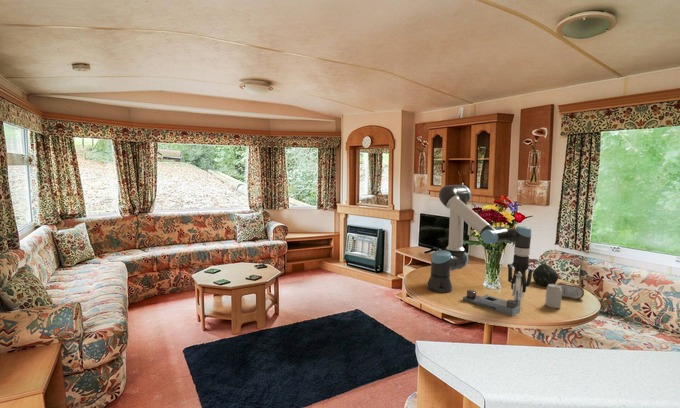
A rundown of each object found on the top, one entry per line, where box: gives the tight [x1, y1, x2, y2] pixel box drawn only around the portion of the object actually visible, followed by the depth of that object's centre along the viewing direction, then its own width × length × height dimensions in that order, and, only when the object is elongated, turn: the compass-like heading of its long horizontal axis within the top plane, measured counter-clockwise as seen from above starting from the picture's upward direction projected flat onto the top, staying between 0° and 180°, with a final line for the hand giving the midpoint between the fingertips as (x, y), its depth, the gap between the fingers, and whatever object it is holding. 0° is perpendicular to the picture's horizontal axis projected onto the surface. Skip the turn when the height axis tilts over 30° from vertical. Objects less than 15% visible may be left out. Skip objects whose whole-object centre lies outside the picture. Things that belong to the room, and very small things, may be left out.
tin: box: [556, 281, 585, 300], centre depth 220 cm, size 15×3×8 cm, turn 59°
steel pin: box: [513, 272, 523, 306], centre depth 202 cm, size 5×5×17 cm
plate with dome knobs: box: [462, 289, 521, 317], centre depth 203 cm, size 28×9×6 cm, turn 41°
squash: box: [532, 263, 559, 287], centre depth 243 cm, size 14×15×15 cm
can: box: [544, 283, 562, 309], centre depth 205 cm, size 8×8×12 cm
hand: (517, 296), depth 203 cm, fingers closed on steel pin, 3 cm apart
